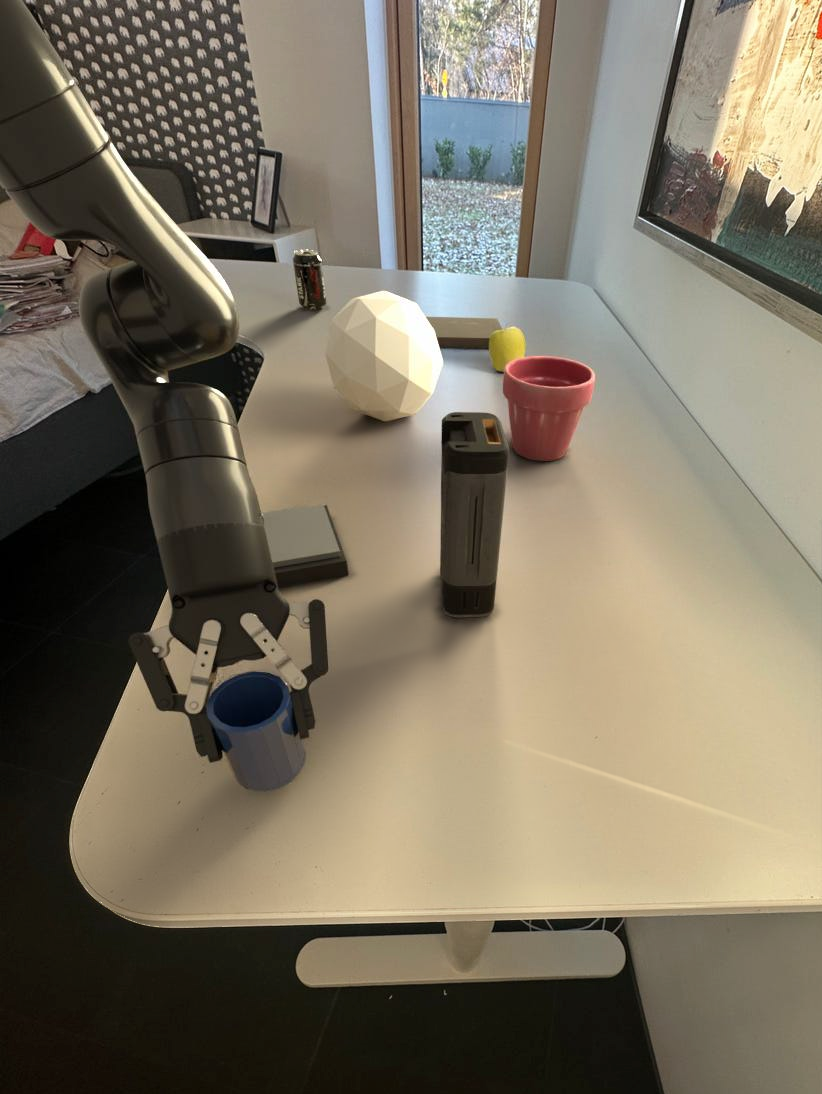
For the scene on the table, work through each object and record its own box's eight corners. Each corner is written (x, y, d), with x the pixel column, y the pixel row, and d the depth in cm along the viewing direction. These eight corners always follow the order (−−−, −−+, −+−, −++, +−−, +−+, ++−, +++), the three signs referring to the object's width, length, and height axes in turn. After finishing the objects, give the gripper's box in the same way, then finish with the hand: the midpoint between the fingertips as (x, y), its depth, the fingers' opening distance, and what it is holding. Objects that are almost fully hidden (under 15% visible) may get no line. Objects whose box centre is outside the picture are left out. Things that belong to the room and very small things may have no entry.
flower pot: (512, 424, 102) (520, 348, 93) (588, 440, 99) (603, 363, 90) (486, 458, 92) (491, 376, 83) (569, 476, 89) (584, 394, 80)
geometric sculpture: (362, 446, 107) (299, 342, 100) (450, 394, 109) (395, 289, 102) (372, 438, 90) (297, 311, 83) (477, 376, 92) (413, 247, 85)
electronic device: (439, 569, 70) (440, 409, 56) (486, 568, 71) (499, 410, 57) (443, 620, 64) (445, 453, 50) (495, 618, 65) (512, 454, 51)
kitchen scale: (217, 599, 64) (209, 578, 62) (211, 536, 73) (204, 516, 71) (348, 575, 69) (345, 555, 67) (328, 518, 77) (325, 499, 75)
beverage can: (305, 312, 143) (297, 255, 134) (295, 305, 147) (287, 249, 138) (331, 309, 146) (324, 254, 137) (320, 302, 150) (314, 248, 141)
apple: (535, 368, 120) (527, 319, 112) (501, 383, 119) (491, 335, 112) (520, 356, 125) (511, 308, 118) (487, 370, 125) (477, 323, 117)
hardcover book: (404, 326, 139) (404, 316, 137) (496, 328, 142) (497, 318, 140) (406, 348, 128) (406, 337, 126) (506, 350, 131) (507, 339, 129)
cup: (236, 801, 45) (208, 741, 39) (230, 743, 48) (204, 681, 43) (311, 780, 46) (294, 720, 41) (300, 725, 50) (283, 664, 44)
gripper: (85, 537, 37) (144, 786, 37) (309, 506, 41) (360, 730, 42) (120, 556, 44) (170, 766, 45) (308, 528, 48) (351, 719, 49)
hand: (261, 747), depth 43 cm, fingers closed on cup, 6 cm apart
